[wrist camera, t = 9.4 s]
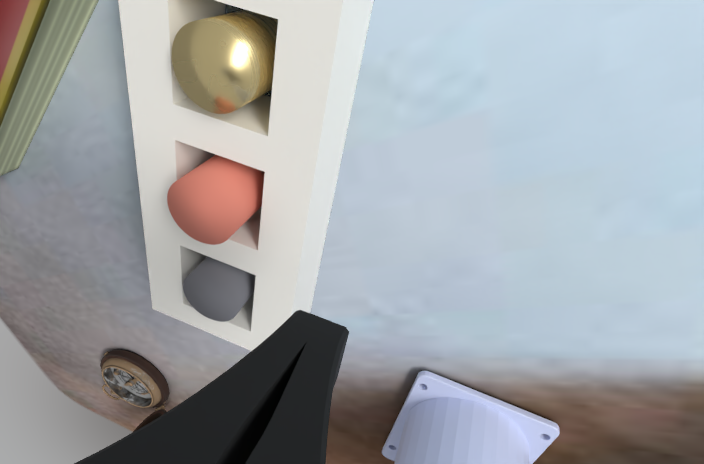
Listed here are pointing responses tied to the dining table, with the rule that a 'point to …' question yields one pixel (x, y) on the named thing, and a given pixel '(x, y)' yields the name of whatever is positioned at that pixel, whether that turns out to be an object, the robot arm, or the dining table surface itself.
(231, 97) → the brass plug
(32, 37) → the hardcover book
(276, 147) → the socket board
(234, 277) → the gray plug
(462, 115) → the dining table surface
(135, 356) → the compass
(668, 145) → the dining table surface
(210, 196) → the red plug
